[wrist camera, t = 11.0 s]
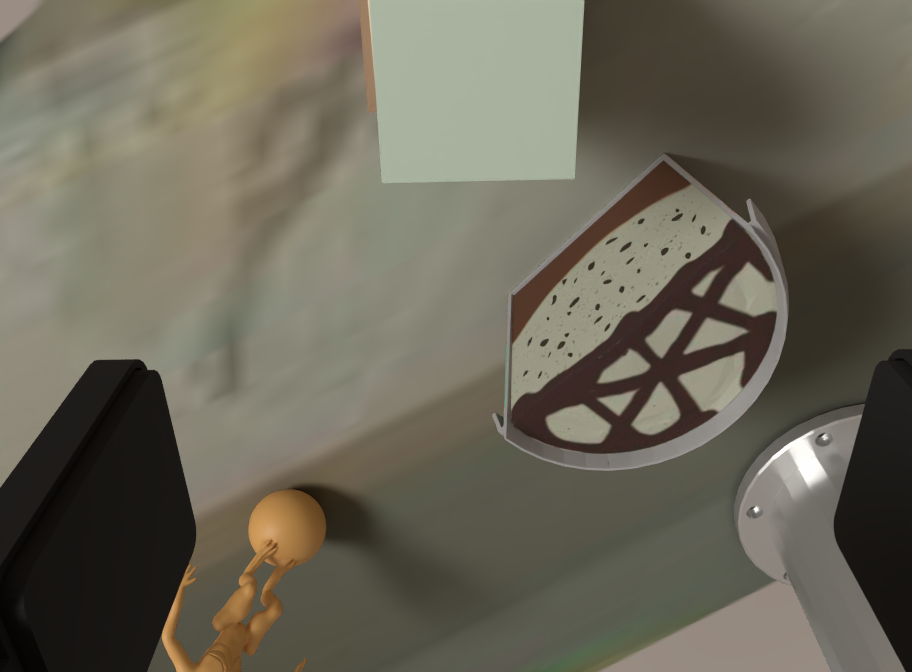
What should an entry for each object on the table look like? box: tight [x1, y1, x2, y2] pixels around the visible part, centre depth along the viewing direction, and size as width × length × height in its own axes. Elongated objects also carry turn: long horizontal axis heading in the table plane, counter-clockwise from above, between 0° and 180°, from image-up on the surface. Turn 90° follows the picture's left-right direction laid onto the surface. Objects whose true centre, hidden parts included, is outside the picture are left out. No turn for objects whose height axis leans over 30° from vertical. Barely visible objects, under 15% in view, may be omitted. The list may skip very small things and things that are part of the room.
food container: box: [492, 153, 789, 471], centre depth 34 cm, size 12×6×10 cm, turn 137°
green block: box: [369, 0, 584, 183], centre depth 23 cm, size 5×5×6 cm
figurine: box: [162, 489, 326, 672], centre depth 40 cm, size 8×6×12 cm
